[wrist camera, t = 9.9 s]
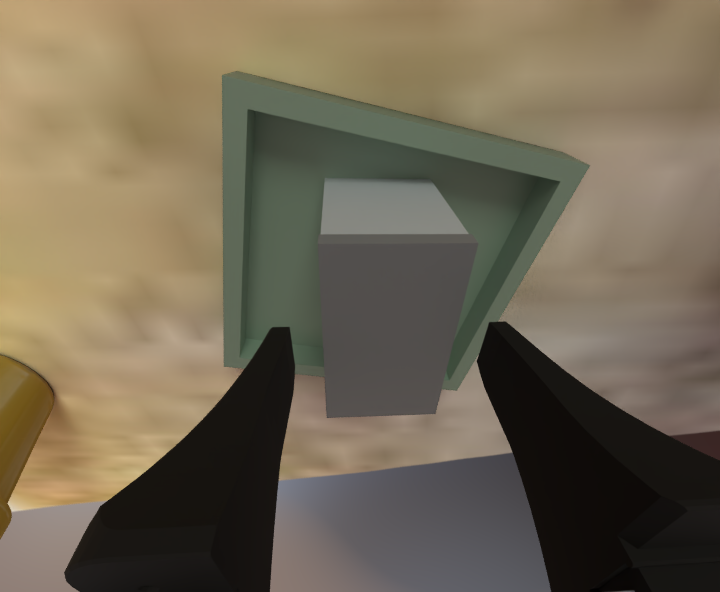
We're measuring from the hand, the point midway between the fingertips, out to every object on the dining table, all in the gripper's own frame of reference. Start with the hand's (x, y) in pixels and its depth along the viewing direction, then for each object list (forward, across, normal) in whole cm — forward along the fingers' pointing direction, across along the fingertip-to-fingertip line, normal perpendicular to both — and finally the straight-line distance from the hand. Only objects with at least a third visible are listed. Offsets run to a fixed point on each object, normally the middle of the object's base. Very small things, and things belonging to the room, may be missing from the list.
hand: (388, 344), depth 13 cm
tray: (+6, 0, 0) cm, 6 cm away
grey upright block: (+6, 0, 0) cm, 6 cm away
